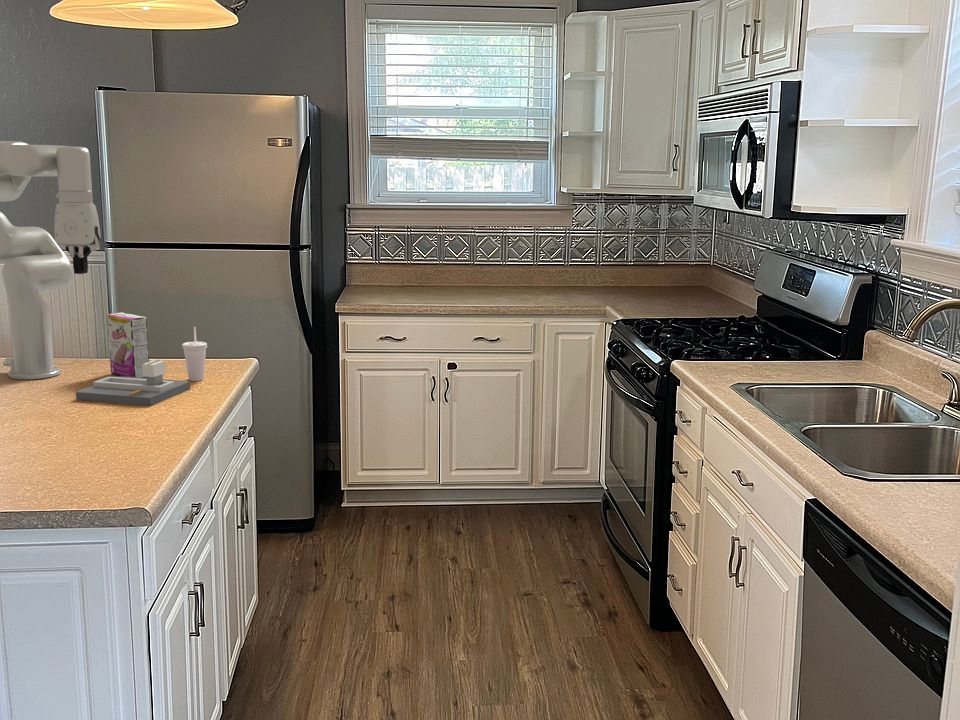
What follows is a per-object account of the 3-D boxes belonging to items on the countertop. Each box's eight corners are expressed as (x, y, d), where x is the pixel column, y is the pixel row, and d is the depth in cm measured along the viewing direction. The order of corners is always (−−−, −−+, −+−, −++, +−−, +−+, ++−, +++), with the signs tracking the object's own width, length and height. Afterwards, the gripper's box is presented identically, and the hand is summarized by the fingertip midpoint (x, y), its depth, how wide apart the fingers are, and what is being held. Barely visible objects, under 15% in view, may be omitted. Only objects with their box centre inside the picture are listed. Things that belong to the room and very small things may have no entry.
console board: (76, 399, 230) (75, 387, 229) (120, 383, 247) (119, 371, 247) (150, 406, 226) (150, 392, 225) (190, 389, 243) (189, 376, 242)
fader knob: (143, 388, 233) (142, 363, 231) (155, 383, 237) (153, 359, 236) (154, 389, 232) (153, 364, 231) (166, 384, 237) (164, 360, 235)
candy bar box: (109, 374, 258) (105, 314, 254) (125, 371, 262) (122, 311, 258) (134, 380, 251) (131, 318, 248) (150, 377, 255) (147, 316, 252)
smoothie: (212, 377, 256) (210, 325, 253) (203, 382, 250) (201, 330, 247) (189, 376, 257) (186, 325, 254) (179, 381, 250) (177, 329, 248)
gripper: (39, 198, 231) (44, 273, 235) (93, 199, 228) (98, 276, 231) (59, 197, 238) (64, 270, 242) (112, 198, 235) (116, 273, 239)
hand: (81, 273), depth 237 cm, fingers closed
